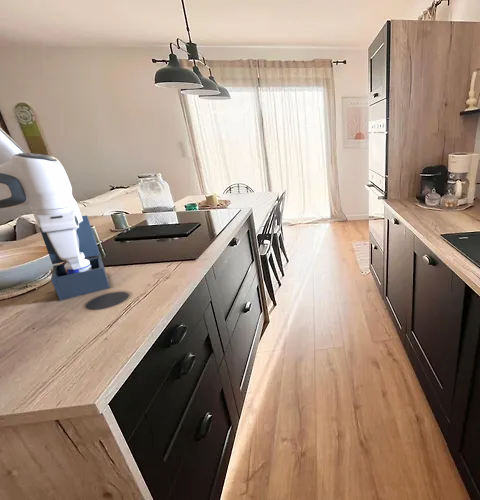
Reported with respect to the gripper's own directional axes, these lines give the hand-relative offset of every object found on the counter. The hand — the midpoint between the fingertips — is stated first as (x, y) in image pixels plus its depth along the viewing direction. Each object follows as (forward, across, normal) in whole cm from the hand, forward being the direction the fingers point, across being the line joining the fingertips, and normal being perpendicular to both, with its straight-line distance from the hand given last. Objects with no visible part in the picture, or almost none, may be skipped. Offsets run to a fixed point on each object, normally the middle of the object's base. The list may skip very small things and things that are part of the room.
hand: (77, 264), depth 81 cm
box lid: (-6, -7, 0) cm, 9 cm away
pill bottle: (+7, 0, 0) cm, 7 cm away
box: (+7, 0, 0) cm, 7 cm away
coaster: (+8, +14, +4) cm, 17 cm away
